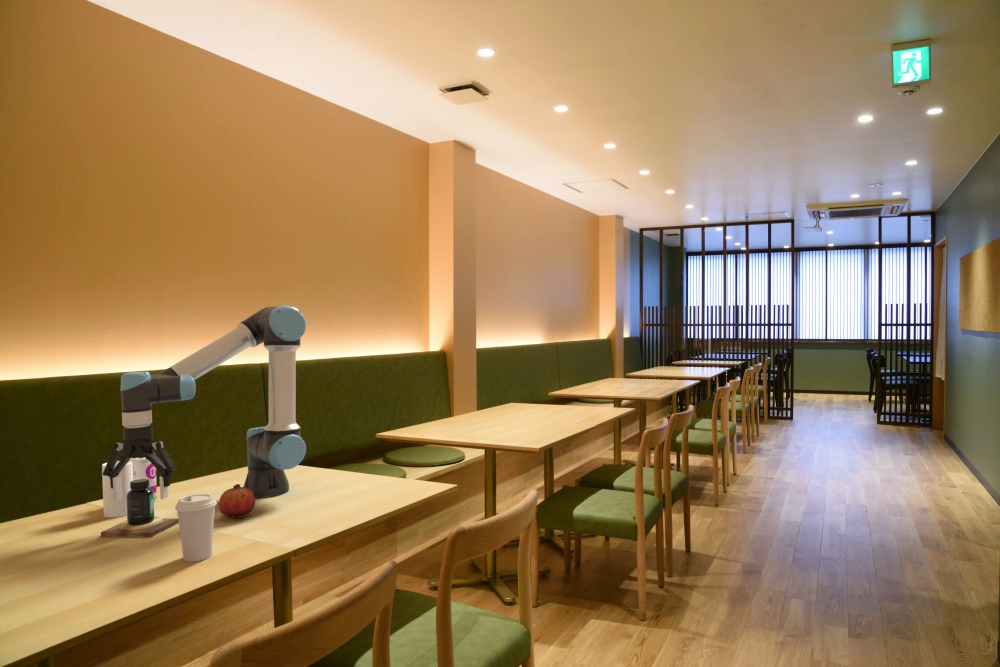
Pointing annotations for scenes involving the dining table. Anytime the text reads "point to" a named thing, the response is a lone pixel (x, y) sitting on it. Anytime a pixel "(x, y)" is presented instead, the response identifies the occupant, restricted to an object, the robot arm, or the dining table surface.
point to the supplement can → (145, 472)
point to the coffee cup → (196, 525)
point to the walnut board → (140, 528)
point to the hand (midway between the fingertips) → (141, 498)
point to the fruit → (237, 502)
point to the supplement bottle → (140, 503)
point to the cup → (109, 504)
